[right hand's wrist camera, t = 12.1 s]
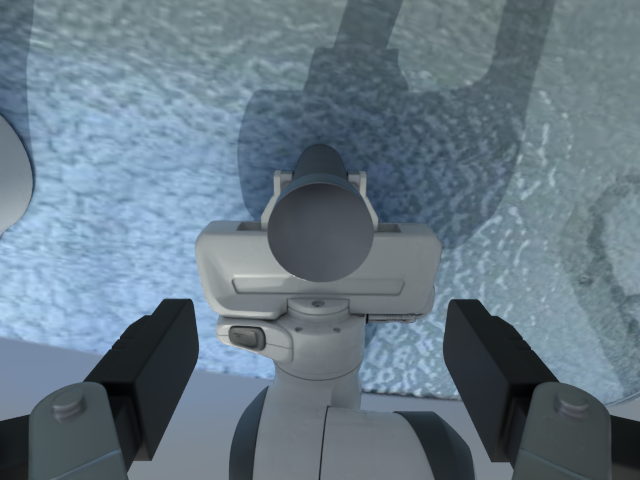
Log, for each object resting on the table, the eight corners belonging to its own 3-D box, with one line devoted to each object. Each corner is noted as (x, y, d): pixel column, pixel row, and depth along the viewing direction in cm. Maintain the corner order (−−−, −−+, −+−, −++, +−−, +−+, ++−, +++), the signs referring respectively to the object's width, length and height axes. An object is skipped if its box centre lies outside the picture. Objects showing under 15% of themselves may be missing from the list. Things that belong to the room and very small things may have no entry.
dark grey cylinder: (351, 171, 37) (380, 239, 19) (316, 198, 38) (313, 286, 20) (324, 134, 36) (328, 171, 18) (287, 163, 37) (259, 225, 19)
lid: (387, 228, 21) (394, 243, 19) (312, 280, 22) (311, 301, 20) (329, 152, 20) (330, 159, 18) (252, 212, 21) (244, 226, 19)
